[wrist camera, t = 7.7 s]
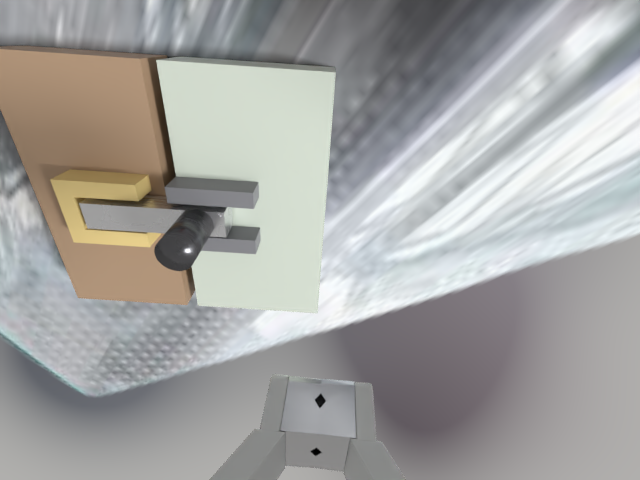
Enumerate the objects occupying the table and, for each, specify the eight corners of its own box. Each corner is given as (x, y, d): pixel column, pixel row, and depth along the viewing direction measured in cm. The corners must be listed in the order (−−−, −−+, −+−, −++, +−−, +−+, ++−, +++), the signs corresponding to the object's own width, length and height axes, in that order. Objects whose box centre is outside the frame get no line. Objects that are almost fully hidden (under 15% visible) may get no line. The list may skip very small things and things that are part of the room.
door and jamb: (334, 67, 24) (336, 75, 19) (318, 285, 34) (316, 329, 29) (25, 45, 24) (-58, 48, 19) (103, 271, 34) (63, 313, 29)
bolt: (231, 198, 25) (205, 240, 20) (233, 226, 26) (209, 273, 21) (95, 189, 25) (34, 229, 20) (104, 218, 26) (48, 262, 21)
